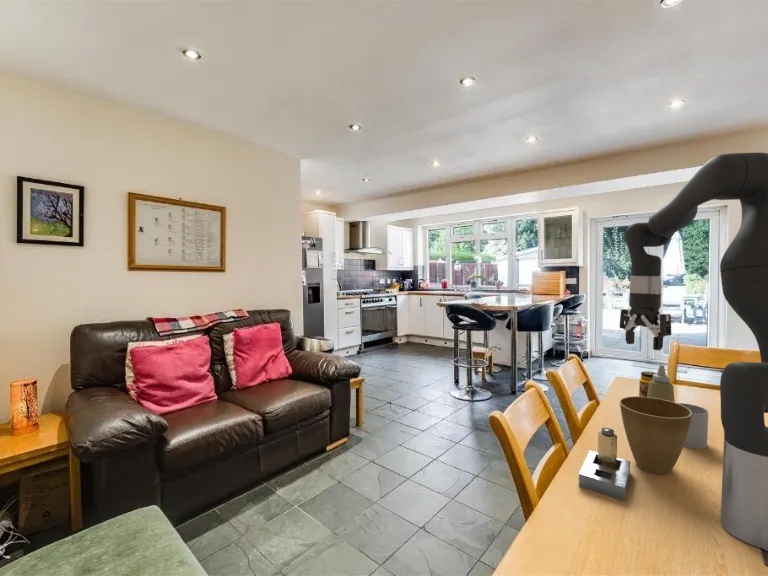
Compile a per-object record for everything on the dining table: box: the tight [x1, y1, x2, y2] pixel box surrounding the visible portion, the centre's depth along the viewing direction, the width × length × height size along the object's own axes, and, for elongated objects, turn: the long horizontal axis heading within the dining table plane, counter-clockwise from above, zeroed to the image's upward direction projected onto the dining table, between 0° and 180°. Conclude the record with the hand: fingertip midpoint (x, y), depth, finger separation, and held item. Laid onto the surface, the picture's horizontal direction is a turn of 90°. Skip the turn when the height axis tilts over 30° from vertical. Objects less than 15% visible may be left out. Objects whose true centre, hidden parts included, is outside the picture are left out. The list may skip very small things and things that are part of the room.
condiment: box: [638, 371, 657, 397], centre depth 138 cm, size 7×8×12 cm
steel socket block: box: [578, 450, 631, 501], centre depth 89 cm, size 14×9×3 cm, turn 142°
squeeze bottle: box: [647, 364, 676, 403], centre depth 125 cm, size 8×8×18 cm
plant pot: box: [619, 395, 692, 475], centre depth 94 cm, size 15×15×16 cm
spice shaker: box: [597, 427, 618, 470], centre depth 91 cm, size 4×4×11 cm
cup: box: [677, 402, 709, 449], centre depth 108 cm, size 8×8×10 cm
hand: (643, 346), depth 108 cm, fingers open, 8 cm apart
